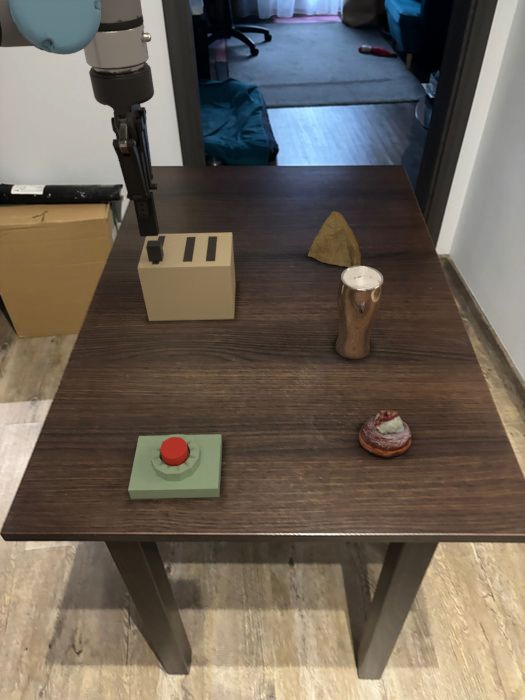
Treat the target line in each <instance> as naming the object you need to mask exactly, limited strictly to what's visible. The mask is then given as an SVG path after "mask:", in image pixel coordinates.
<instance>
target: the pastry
mask: <svg viewBox="0 0 525 700" xmlns="http://www.w3.org/2000/svg"><path fill="white" fill-rule="evenodd" d="M412 436H413V435H412V432H411V429H410V426H409V425H408V423H406V422H405V421H404V420H402V418H401V416H400V415H399V413H398V412H397V411H396V410H392V411H390V410H387V409H386V410H384V409H380V411H379V412H377V414H376V415H372V416H370V417H369V418H367V419H366V420H365V421H363V423H362V425H361V427H360V429H359V432H358V442H359V444H360V446H361V447H362V448H363V450H365V452H368V453H369V454H371V455H374V456H376V457H379V458H384V459H388V458H394V457H399V456H401V455H403V454H404V453H406V452H407V451H408V450H409V449H410V447H411V443H412V438H413V437H412Z"/></svg>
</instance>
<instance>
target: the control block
mask: <svg viewBox="0 0 525 700" xmlns="http://www.w3.org/2000/svg"><path fill="white" fill-rule="evenodd" d="M171 437H180V438H182V439H184V440H185V442H186V443H187V448H188V457H187V459H186V461H185V462H183V463H182V464H180V465H177V466H170V465H168V464H166V463H165V462H164V461H163V459H162V455H161V451H160V448H161V445H162V443H163V442H164V441H165V440H166V439H168V438H171ZM222 456H223V438H222V434H221V433H217V434H215V433H214V434H183V433H181V434H175V433H174V434H169V435H167V434H166V435H165V434H164V435H138V439H137V443H136V447H135V454H134V457H133V463H132V467H131V474H130V478H129V484H128V489H127V492H128V494H129V498H130V500H150V499H152V500H153V499H196V498H199V499H201V498H220V496H221V494H220V493H221V476H222V475H221V474H222V460H223V459H222Z"/></svg>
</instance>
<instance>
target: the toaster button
mask: <svg viewBox="0 0 525 700" xmlns="http://www.w3.org/2000/svg"><path fill="white" fill-rule="evenodd" d="M146 249H147V254H148V259H149V261H163V256H164V252H163V247H162V241H161V240H151V241H148V242H147V245H146Z"/></svg>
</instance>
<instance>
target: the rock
mask: <svg viewBox="0 0 525 700" xmlns="http://www.w3.org/2000/svg"><path fill="white" fill-rule="evenodd" d="M307 257H308V258H313V259H315V260H316V261H318V262H320V263H324V264H328V265H334V266H338V267H346V268H349V267H352V266H362V254H361V251H360V247H359V243H358V241H357V239H356V236H355V234H354V231H353V229H352V227H350V226H349V224H348V221H347V220H346V219H345V218H344V215H343V214H341V212H339V211H335V210H333V211H332V212H331V213H330V214H329V215H328V217H327V218H326V219H325V221H324V222H323V223H322V226H321V228H320V229H319V231H318V233H317V234H316V236H315V237H314V239H313V241H312V244H311V246H310V248H309V251H308V253H307Z"/></svg>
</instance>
